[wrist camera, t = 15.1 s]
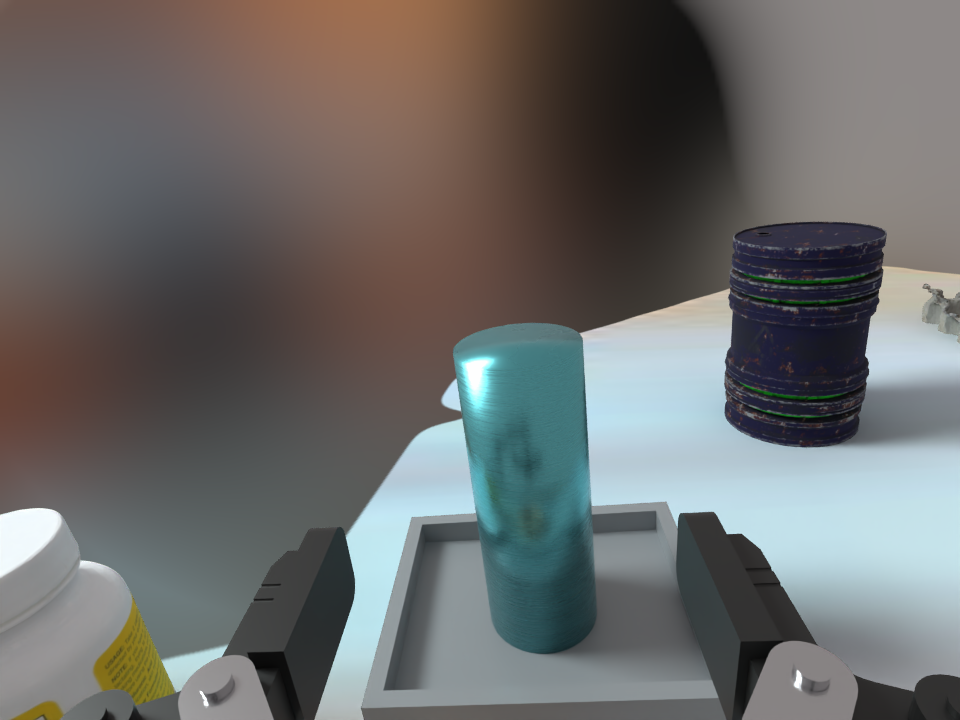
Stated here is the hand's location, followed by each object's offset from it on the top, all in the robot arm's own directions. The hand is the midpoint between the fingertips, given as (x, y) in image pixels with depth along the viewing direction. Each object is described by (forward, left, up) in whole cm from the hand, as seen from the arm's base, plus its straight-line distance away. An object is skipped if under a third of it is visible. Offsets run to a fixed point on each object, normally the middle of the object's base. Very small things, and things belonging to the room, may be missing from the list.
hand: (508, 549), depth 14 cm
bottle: (0, +12, -14) cm, 19 cm away
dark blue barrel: (+21, +32, -15) cm, 41 cm away
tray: (0, +12, -15) cm, 19 cm away
